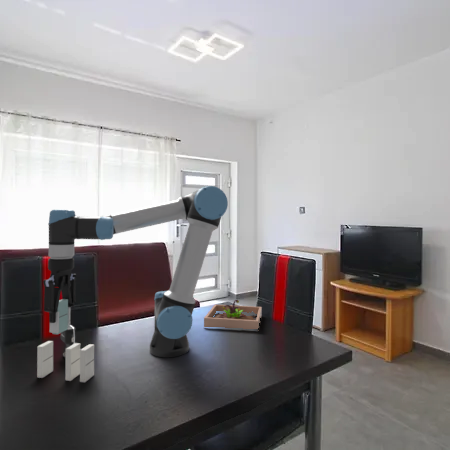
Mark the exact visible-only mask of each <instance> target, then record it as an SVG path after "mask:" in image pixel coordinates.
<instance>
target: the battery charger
mask: <svg viewBox="0 0 450 450" xmlns="http://www.w3.org/2000/svg"><path fill="white" fill-rule="evenodd" d="M60 340H61V341H62V342H63V343H64V344H65V349H64V351H63V353H62V356H63V358H64V359H65V360H66V348H68V347H70V346H71V345H73V344H75V343H77V328H76V327H75V326H74V325H73V324H70V327H68V329H67V330H65V331H63V332H61V333H60Z"/></svg>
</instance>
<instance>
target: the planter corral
mask: <svg viewBox="0 0 450 450" xmlns="http://www.w3.org/2000/svg"><path fill="white" fill-rule="evenodd" d="M225 305H226V304H214V305H213V306H212V307H211V308H210V309H209V311H208V312H207V313H206V315H205V316H204V317H203V328H204V327H225V328H243V329H258V328H259V329H260V326H259V323H260V324H261V321H260V318H261V319H262V313H263V312H262V311H263V310H262V308H263V307H262V306H250V305H235V307H239V308H240V310H243V311H242V312H247V313H249V312H250V313H251V312H252V311H253V312H254V313H255V314H257V317H256V318H255V320H242V319H226V318H212V317H213V316H214V315H215V313H216V311H224V310H226V311H228V309H229V310H230V308H229V306H226V308H225V309H223V307H224V306H225ZM230 306H231V307H233V304H231V305H230ZM236 309H238V308H236ZM238 312H239V311H238Z"/></svg>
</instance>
